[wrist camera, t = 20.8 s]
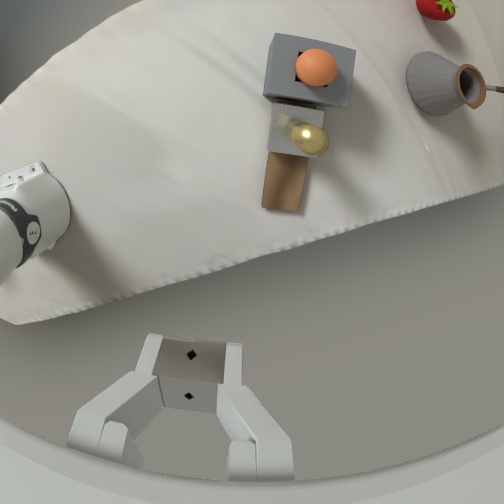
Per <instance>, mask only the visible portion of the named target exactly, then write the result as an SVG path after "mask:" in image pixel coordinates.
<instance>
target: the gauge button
mask: <svg viewBox="0 0 504 504" xmlns="http://www.w3.org/2000/svg"><path fill="white" fill-rule="evenodd" d="M295 72H296V75H295V81H296V82H302V83H304V84H306V85H309V86H313V87H319V86H324V85H327V84H329V83H331V82H332V81H333V80H334V79H335V78H336V76H337V72H338V66H337V62H336V60H335V59H334V57H333V56H332V55H331V54H330V53H328V52H327V51H325V50H322V49H309V50H307V51H305V52H304V53H302V54H301V55H300V56H299V57H298V58H297V60H296V63H295Z"/></svg>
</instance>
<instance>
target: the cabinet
mask: <svg viewBox="0 0 504 504" xmlns="http://www.w3.org/2000/svg"><path fill="white" fill-rule="evenodd" d="M309 49H322V50H325V51H327V52H328V53H330V54H331V55H332V56H333V57H334V59H335V60H336V62H337V66H338V72H337V76H336V78H335V79H334V80H333V81H332V82H331V83H329V84H327V85H324V87H322V86H319V87H313V86H309V85H306V84H304V83H302V82H296V81H295V75H296V72H295V63H296V60H297V58H298V57H299V56H300V55H301V54H302V53H304V52H305V51H307V50H309ZM355 55H356V50H353V49H350V48H346V47H342V46H339V45H335V44H331V43H326V42H322V41H318V40H313V39H308V38H303V37H298V36H292V35H286V34H280V33H275V35H274V37H273V40H272V42H271V45H270V47H269V54H268V61H267V68H266V76H265V83H264V91H263V95H264V96H271V97H279V98H285V99H291V100H297V101H303V102H309V103H314V104H319V105H324V106H331V107H343V108H348V104H349V98H350V91H351V85H352V78H353V70H354V63H355Z"/></svg>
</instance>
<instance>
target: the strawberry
mask: <svg viewBox="0 0 504 504" xmlns="http://www.w3.org/2000/svg"><path fill="white" fill-rule="evenodd" d="M416 5H417V9H418V10H419V12H420V13H421V14H422V15H424V16H426V17H428V18H430V19H433V20H440V21H446V20H449V19H451V18H452V17H454V15H455V7H456V6H455V5H454V4H453V2H452V0H416ZM456 8H458V7H456Z"/></svg>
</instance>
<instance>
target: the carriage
mask: <svg viewBox="0 0 504 504" xmlns="http://www.w3.org/2000/svg"><path fill="white" fill-rule="evenodd" d="M324 113H325V111H320V110H315V109H309V108H304V107H298V106H292V105H286V104H279V103H273V107H272V114H271V121H270V129H269V136H268V143H267V149H268V151H271V152H278V153H286V154H293V155H299V156H306V157H312V158H317V156H318V155H320V154H322V153H323V152H325V151H326V149H327V147H328V144H329V138H328V135H327V133H326V132H325V131H324V130H323V129H322V125H323V119H324Z"/></svg>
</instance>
